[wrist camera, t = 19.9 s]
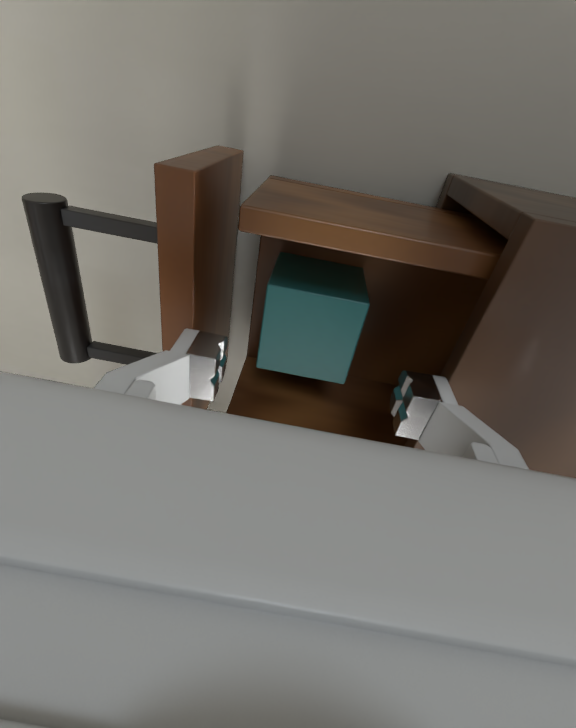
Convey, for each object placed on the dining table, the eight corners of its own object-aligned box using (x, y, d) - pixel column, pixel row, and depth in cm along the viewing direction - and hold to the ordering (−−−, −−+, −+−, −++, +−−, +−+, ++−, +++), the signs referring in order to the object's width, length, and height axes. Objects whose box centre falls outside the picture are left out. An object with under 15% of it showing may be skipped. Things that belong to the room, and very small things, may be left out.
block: (279, 250, 17) (266, 283, 14) (363, 267, 17) (370, 303, 14) (268, 324, 19) (255, 368, 16) (342, 339, 19) (344, 385, 16)
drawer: (116, 340, 22) (44, 415, 17) (87, 119, 16) (-46, 123, 10) (455, 406, 23) (495, 502, 17) (565, 213, 16) (688, 267, 10)
